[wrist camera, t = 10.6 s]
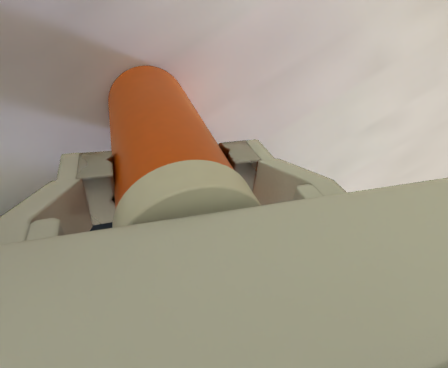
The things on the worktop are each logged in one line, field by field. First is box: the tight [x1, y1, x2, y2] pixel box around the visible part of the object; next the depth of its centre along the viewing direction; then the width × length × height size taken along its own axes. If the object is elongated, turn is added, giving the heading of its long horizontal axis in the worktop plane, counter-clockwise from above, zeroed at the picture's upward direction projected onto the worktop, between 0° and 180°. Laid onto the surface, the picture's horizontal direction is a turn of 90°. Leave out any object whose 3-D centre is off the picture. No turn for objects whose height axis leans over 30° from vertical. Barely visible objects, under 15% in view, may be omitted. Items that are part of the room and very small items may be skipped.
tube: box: [108, 66, 261, 228], centre depth 12 cm, size 4×4×10 cm
